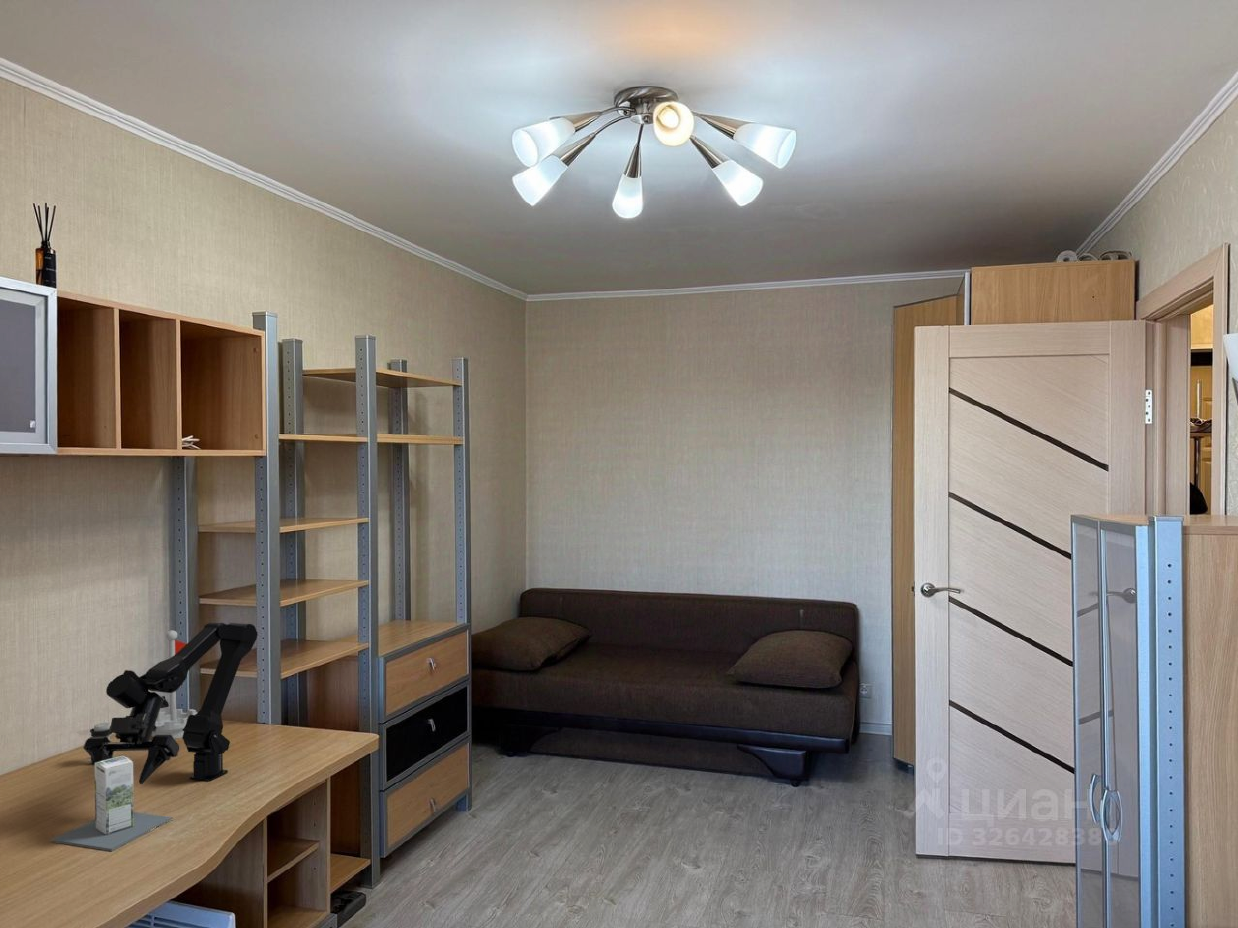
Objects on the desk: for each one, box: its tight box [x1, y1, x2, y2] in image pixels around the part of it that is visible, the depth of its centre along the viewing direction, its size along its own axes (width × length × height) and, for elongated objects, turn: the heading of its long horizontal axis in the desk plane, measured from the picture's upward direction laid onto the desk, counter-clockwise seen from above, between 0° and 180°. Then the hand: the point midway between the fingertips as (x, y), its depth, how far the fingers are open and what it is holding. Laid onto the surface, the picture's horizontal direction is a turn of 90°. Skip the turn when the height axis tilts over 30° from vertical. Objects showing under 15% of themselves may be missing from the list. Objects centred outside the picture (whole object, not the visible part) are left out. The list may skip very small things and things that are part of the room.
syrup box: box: [94, 755, 134, 835], centre depth 190 cm, size 6×6×14 cm
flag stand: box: [151, 629, 199, 740], centre depth 256 cm, size 13×13×30 cm
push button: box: [84, 722, 114, 766], centre depth 232 cm, size 7×5×10 cm
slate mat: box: [51, 811, 174, 852], centre depth 190 cm, size 16×16×1 cm
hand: (118, 783), depth 192 cm, fingers open, 9 cm apart
